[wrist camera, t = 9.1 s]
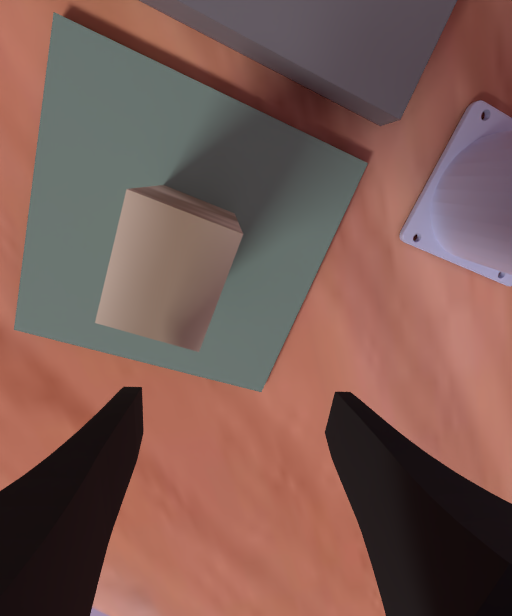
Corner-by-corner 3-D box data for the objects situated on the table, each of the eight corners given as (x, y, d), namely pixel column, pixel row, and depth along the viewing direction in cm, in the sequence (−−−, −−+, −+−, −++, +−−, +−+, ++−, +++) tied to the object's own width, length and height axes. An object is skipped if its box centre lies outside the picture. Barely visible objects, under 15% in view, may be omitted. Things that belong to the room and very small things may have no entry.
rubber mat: (363, 163, 18) (367, 163, 17) (260, 386, 23) (261, 392, 22) (60, 19, 14) (54, 12, 13) (20, 325, 19) (13, 329, 18)
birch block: (234, 213, 17) (243, 234, 11) (206, 292, 19) (198, 352, 12) (163, 184, 16) (126, 189, 10) (139, 271, 18) (95, 322, 11)
